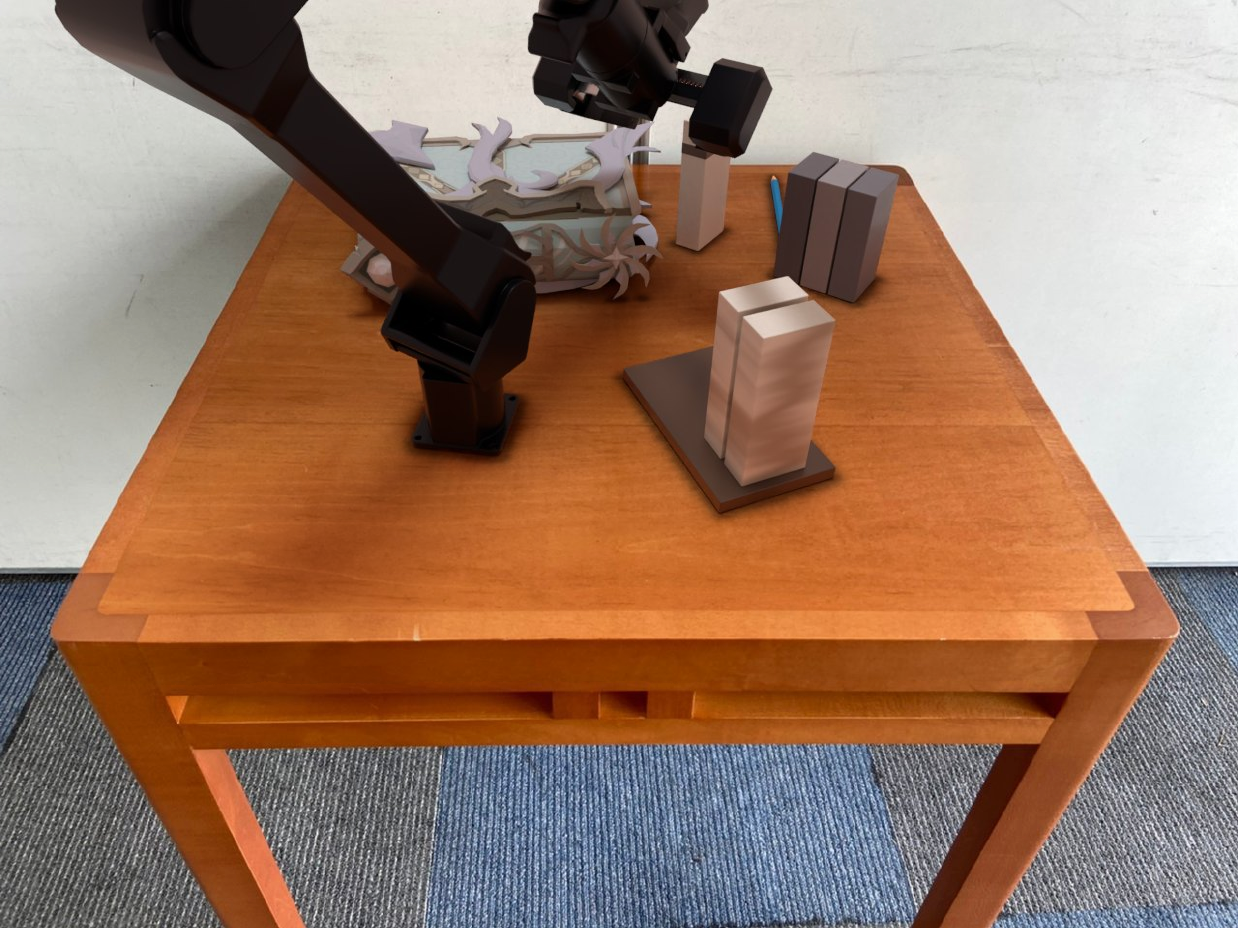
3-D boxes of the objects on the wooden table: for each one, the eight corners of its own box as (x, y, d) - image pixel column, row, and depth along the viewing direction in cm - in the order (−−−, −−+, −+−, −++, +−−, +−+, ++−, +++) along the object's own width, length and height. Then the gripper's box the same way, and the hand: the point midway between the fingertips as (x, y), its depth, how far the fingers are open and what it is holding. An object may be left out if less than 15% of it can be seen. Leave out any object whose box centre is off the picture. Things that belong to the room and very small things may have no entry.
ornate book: (341, 329, 77) (690, 301, 79) (312, 226, 70) (694, 198, 72) (366, 206, 93) (654, 186, 95) (345, 113, 87) (654, 93, 89)
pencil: (781, 258, 85) (782, 251, 85) (769, 178, 98) (769, 172, 97) (790, 258, 85) (791, 251, 85) (776, 178, 98) (777, 172, 97)
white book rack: (718, 513, 60) (739, 353, 51) (622, 378, 71) (625, 226, 62) (833, 477, 63) (871, 319, 54) (724, 353, 74) (741, 204, 65)
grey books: (853, 303, 79) (877, 196, 73) (772, 276, 82) (788, 171, 76) (875, 279, 82) (899, 174, 76) (796, 253, 86) (813, 151, 79)
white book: (698, 251, 86) (708, 126, 77) (675, 244, 87) (683, 119, 78) (723, 230, 89) (736, 108, 81) (701, 223, 90) (711, 101, 82)
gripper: (778, -55, 58) (821, 71, 73) (547, -95, 66) (627, 27, 80) (708, 105, 59) (765, 199, 73) (486, 48, 66) (577, 144, 81)
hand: (681, 136), depth 77 cm, fingers open, 9 cm apart
